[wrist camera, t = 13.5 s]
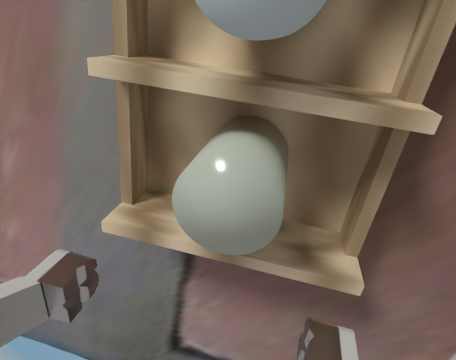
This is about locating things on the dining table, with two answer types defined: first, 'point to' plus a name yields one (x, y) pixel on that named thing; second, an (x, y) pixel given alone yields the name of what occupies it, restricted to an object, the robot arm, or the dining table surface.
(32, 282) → the robot arm
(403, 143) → the rack
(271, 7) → the pale blue-grey rounded dome
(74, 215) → the dining table surface
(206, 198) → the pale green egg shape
